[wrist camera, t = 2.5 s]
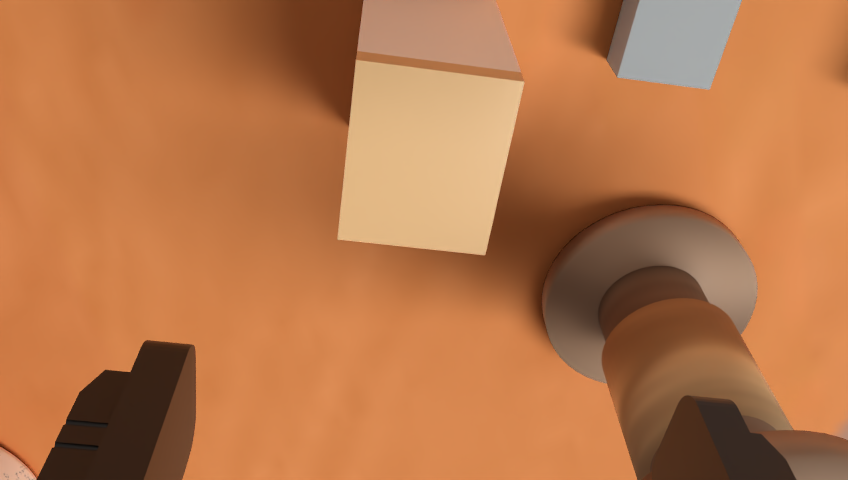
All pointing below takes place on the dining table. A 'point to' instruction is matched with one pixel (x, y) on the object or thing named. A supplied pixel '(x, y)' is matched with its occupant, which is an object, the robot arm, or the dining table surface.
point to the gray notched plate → (671, 40)
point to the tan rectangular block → (429, 124)
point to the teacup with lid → (13, 467)
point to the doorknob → (670, 330)
